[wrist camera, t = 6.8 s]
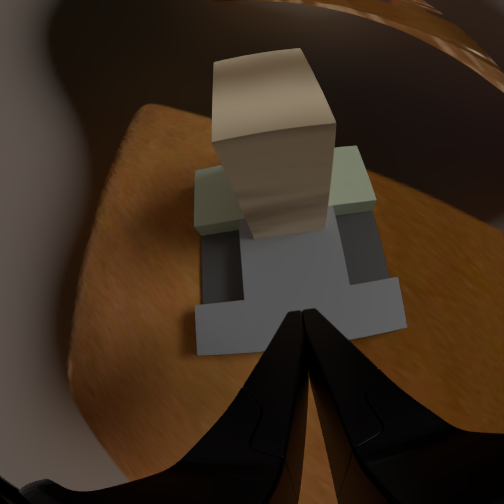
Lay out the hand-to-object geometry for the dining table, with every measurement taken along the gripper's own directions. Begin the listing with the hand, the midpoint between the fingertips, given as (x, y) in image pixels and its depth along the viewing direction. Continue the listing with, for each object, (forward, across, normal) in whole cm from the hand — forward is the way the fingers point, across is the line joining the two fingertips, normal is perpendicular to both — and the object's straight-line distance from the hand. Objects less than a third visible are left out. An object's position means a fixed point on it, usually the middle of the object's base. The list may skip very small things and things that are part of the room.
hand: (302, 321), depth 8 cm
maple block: (+14, 0, -1) cm, 14 cm away
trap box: (+13, 0, +3) cm, 13 cm away
